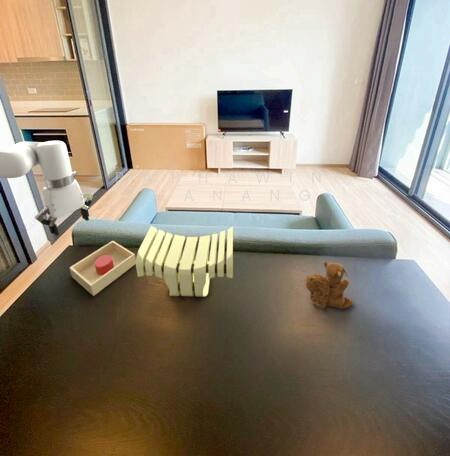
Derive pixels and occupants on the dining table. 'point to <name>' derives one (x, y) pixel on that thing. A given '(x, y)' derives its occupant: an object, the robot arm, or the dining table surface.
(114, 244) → the bin
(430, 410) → the dining table surface
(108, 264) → the disc
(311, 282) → the stuffed squirrel
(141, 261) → the slatted curved stool
